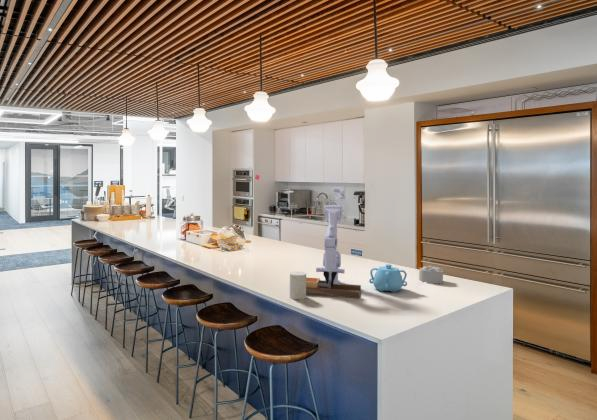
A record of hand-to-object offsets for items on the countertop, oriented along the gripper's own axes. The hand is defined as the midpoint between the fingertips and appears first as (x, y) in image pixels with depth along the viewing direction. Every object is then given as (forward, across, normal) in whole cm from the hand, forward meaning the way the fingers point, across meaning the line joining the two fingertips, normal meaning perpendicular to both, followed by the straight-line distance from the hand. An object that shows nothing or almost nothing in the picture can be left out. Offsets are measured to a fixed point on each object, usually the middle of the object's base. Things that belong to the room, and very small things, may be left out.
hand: (330, 286), depth 219 cm
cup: (+4, -14, -12) cm, 19 cm away
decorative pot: (+4, +29, +14) cm, 33 cm away
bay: (+3, -2, 0) cm, 4 cm away
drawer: (+2, -7, 0) cm, 8 cm away
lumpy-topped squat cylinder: (+4, +54, +39) cm, 67 cm away
